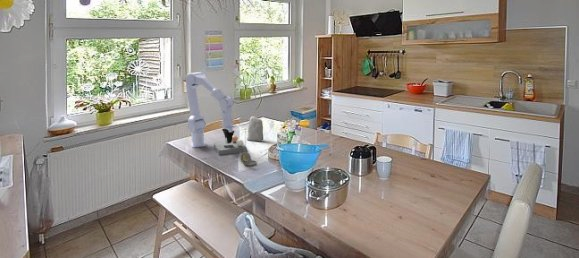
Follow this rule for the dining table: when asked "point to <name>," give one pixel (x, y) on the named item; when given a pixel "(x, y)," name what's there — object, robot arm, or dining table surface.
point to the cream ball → (239, 142)
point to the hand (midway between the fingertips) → (228, 141)
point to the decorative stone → (255, 129)
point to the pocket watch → (247, 157)
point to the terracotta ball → (234, 139)
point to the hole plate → (228, 148)
